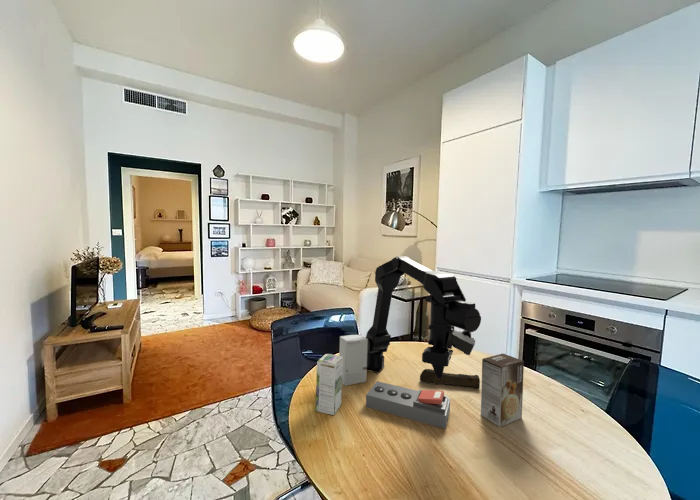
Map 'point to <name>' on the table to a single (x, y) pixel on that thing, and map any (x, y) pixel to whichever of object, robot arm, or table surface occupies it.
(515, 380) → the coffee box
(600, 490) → the table surface
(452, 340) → the robot arm
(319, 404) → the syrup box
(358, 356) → the skincare box
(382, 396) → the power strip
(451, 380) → the hand tool
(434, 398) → the red flat block
